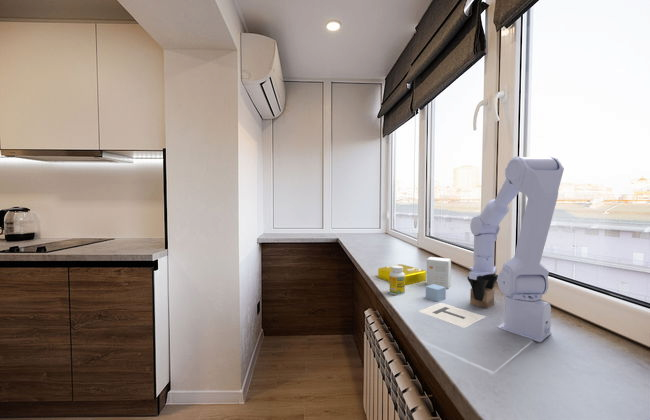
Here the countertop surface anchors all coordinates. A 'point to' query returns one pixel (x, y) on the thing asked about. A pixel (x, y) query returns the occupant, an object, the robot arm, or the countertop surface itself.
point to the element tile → (410, 273)
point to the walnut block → (487, 298)
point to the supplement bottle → (397, 281)
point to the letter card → (452, 314)
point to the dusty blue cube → (435, 292)
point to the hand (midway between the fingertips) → (482, 298)
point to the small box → (439, 271)
